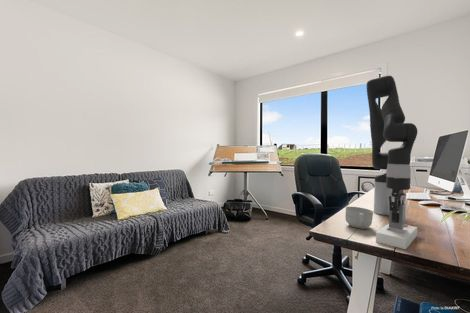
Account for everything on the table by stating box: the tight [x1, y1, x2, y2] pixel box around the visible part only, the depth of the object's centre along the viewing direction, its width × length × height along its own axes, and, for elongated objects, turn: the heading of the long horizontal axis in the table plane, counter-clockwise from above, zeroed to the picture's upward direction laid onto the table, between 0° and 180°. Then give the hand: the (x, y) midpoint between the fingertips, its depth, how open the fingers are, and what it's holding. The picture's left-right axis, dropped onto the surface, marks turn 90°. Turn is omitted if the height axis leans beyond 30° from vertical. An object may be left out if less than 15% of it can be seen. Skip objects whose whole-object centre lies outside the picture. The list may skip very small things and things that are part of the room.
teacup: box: [344, 206, 374, 230], centre depth 103 cm, size 14×11×8 cm
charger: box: [388, 203, 406, 230], centre depth 89 cm, size 4×4×11 cm
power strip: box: [375, 223, 418, 250], centre depth 90 cm, size 20×9×4 cm, turn 133°
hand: (396, 221), depth 89 cm, fingers closed on charger, 4 cm apart
